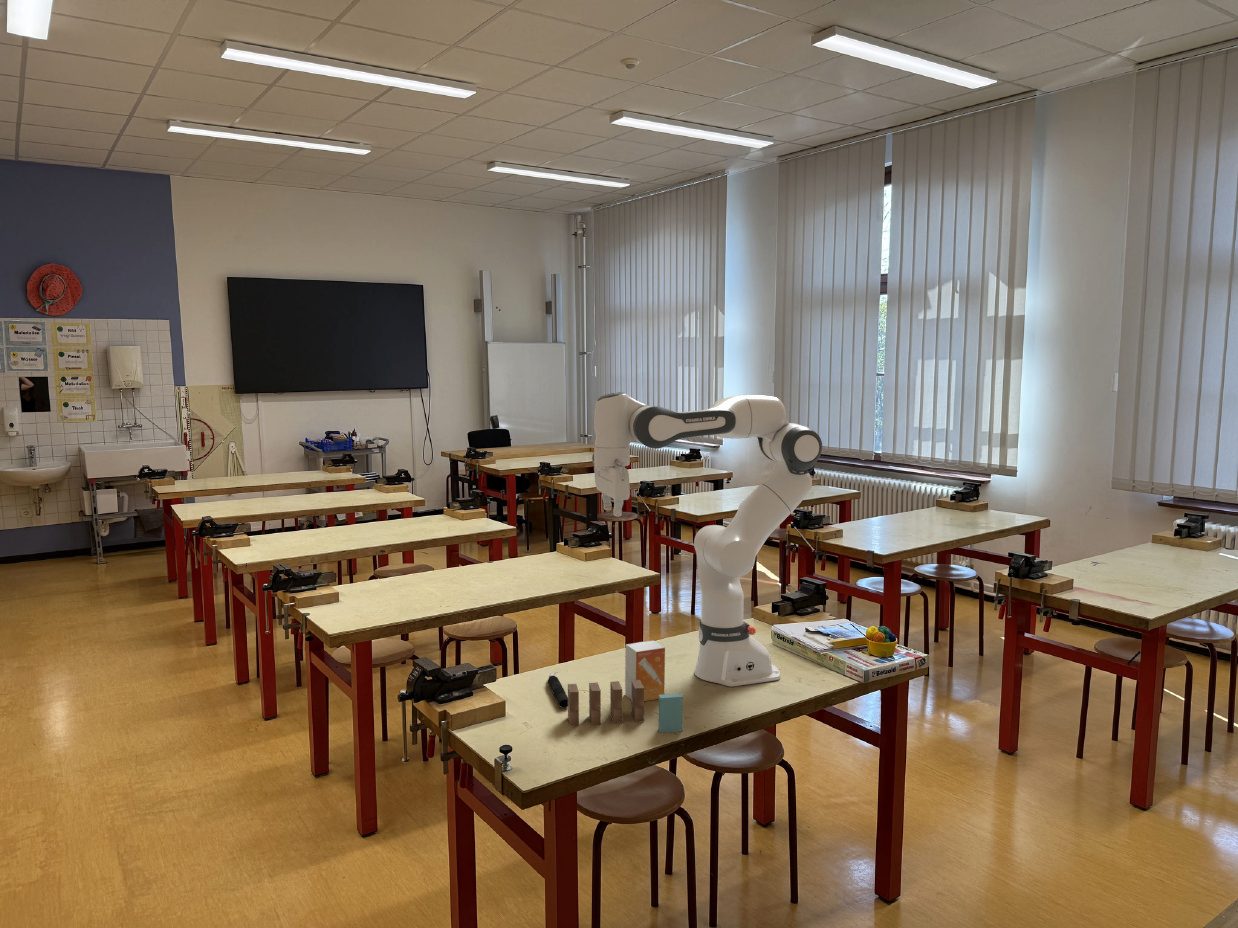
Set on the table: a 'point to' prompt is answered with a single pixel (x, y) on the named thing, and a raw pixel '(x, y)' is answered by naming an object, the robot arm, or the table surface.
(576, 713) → the domino
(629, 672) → the small box
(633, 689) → the domino
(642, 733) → the table surface
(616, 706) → the domino
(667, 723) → the domino
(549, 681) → the utility knife
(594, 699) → the domino
